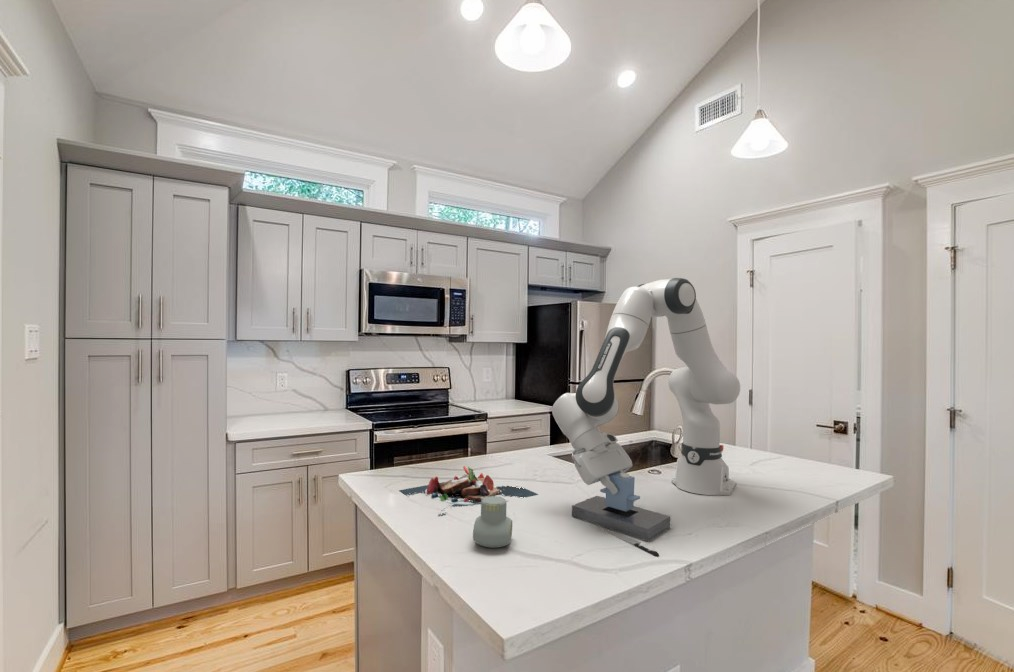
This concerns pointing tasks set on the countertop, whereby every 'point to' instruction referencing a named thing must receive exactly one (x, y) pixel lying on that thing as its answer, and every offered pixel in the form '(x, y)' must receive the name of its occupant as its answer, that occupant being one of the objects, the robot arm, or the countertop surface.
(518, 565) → the countertop surface
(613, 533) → the chef's knife
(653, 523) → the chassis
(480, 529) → the air freshener
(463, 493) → the platter
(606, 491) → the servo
